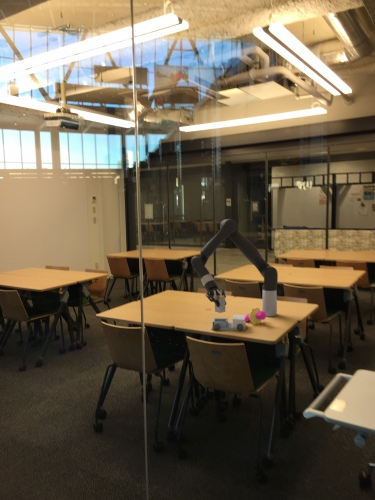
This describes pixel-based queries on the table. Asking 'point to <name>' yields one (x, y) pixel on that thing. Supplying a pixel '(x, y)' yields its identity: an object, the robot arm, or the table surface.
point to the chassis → (229, 323)
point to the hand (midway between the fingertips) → (222, 305)
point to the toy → (255, 316)
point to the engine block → (222, 304)
